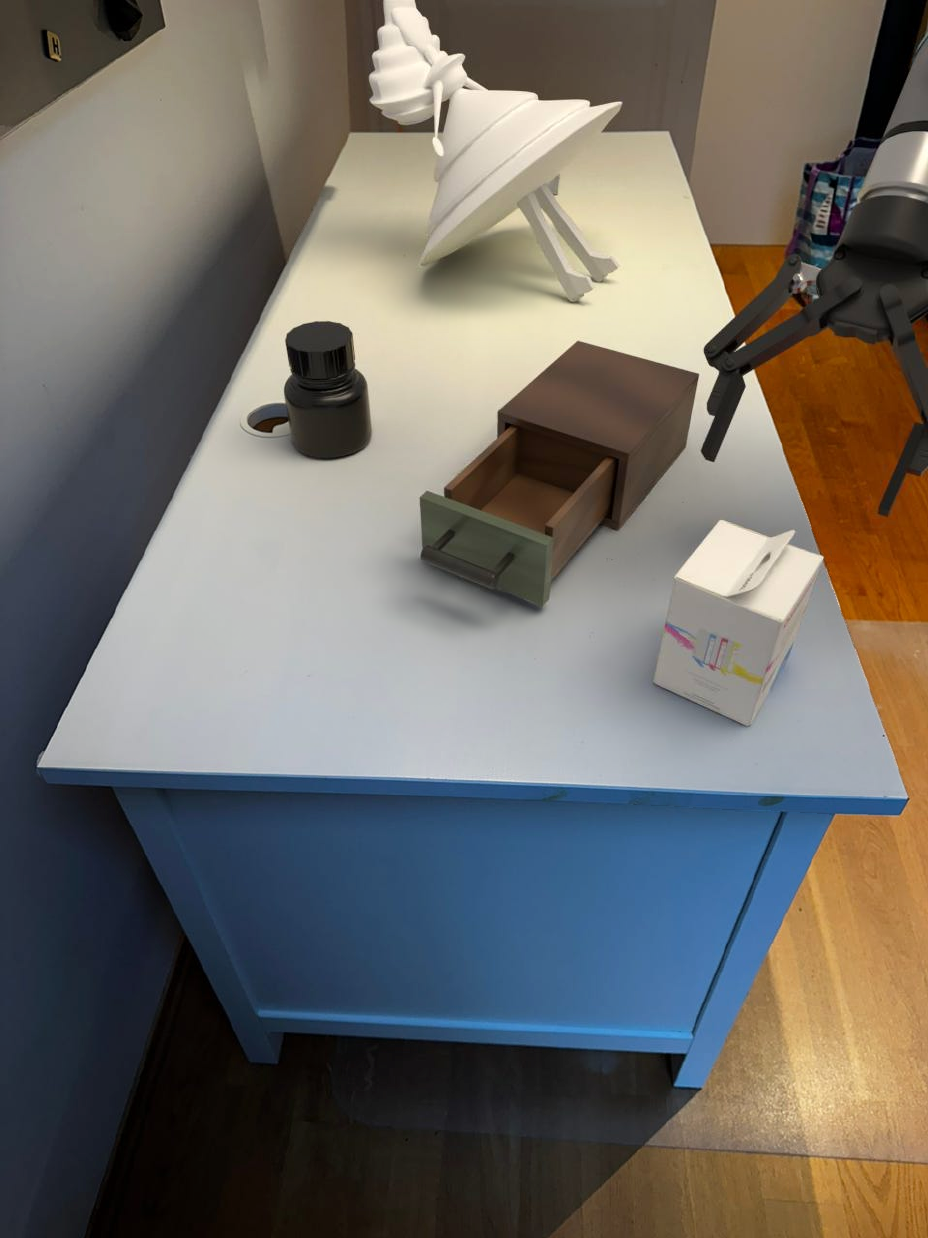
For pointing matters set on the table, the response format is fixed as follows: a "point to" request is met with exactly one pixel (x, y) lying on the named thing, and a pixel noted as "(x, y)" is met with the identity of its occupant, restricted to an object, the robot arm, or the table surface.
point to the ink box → (734, 619)
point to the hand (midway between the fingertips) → (791, 483)
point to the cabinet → (611, 415)
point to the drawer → (518, 512)
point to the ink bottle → (326, 391)
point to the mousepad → (554, 185)
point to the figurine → (487, 146)
